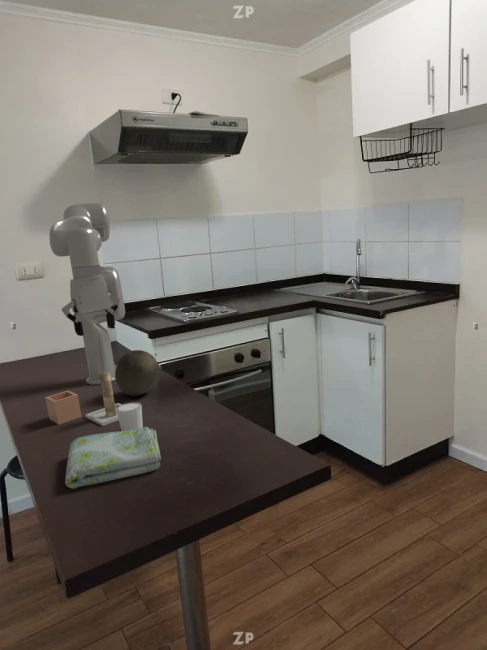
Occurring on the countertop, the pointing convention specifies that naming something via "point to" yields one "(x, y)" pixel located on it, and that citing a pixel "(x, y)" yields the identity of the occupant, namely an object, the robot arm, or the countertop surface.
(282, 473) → the countertop surface
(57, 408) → the cup
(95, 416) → the tray
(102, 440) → the towel
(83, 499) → the countertop surface
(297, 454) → the countertop surface
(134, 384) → the cantaloupe
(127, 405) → the shot glass
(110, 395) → the dowel
